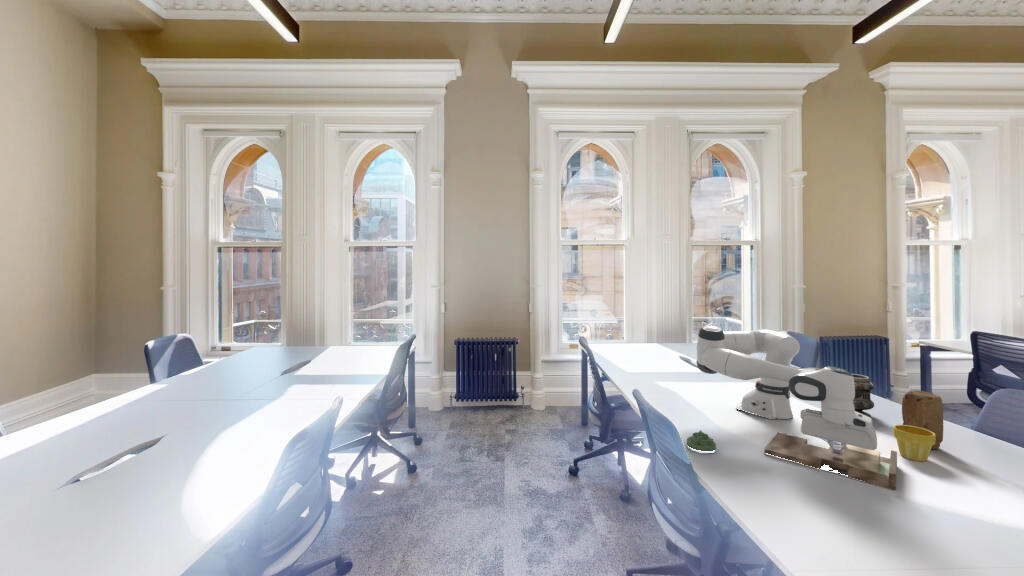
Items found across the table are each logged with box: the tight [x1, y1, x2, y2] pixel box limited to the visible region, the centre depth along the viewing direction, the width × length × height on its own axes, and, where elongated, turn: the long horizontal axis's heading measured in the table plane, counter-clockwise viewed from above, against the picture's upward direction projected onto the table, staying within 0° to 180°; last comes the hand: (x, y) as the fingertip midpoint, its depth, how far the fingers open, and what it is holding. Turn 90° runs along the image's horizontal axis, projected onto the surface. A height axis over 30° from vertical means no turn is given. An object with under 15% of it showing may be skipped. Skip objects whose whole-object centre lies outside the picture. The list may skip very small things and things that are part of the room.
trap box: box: [764, 431, 898, 491], centre depth 135 cm, size 34×20×5 cm, turn 44°
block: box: [901, 390, 944, 450], centre depth 145 cm, size 11×8×20 cm
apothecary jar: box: [851, 373, 875, 418], centre depth 177 cm, size 12×12×18 cm
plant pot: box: [892, 424, 936, 462], centre depth 136 cm, size 10×10×10 cm
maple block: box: [843, 444, 881, 472], centre depth 129 cm, size 8×8×4 cm
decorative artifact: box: [686, 429, 717, 451], centre depth 147 cm, size 10×7×10 cm
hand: (837, 453), depth 133 cm, fingers closed
